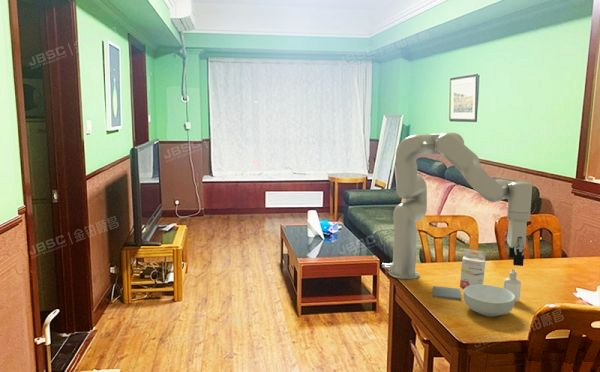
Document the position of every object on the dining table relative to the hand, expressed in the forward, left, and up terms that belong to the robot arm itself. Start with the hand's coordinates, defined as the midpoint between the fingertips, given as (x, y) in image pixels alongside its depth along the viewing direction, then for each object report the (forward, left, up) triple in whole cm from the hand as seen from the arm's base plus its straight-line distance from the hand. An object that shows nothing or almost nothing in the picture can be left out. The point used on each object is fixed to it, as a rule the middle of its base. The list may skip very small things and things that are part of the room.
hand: (515, 261), depth 171 cm
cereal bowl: (-10, -14, -15) cm, 23 cm away
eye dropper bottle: (-1, 0, -15) cm, 15 cm away
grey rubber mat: (-24, -1, -15) cm, 28 cm away
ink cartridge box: (-14, +10, -15) cm, 23 cm away
